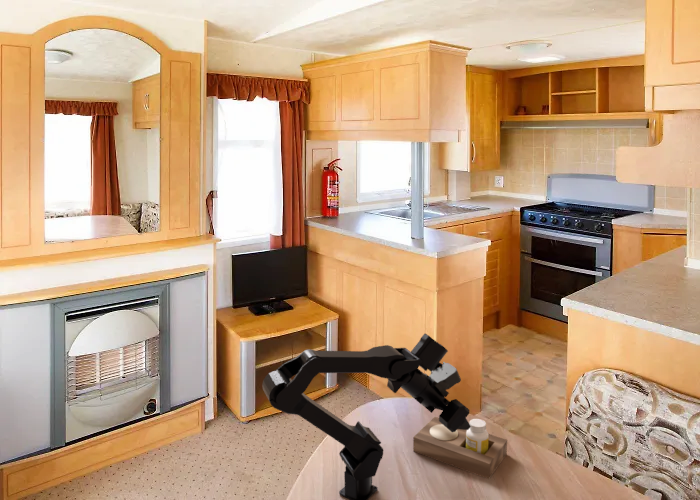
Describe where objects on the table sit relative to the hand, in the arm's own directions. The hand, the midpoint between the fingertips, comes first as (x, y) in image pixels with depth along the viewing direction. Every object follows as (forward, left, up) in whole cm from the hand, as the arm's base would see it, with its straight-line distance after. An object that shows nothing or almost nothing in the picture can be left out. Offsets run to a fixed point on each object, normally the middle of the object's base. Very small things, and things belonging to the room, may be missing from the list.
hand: (457, 418), depth 127 cm
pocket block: (+5, +1, -12) cm, 13 cm away
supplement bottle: (+5, -3, -13) cm, 14 cm away
